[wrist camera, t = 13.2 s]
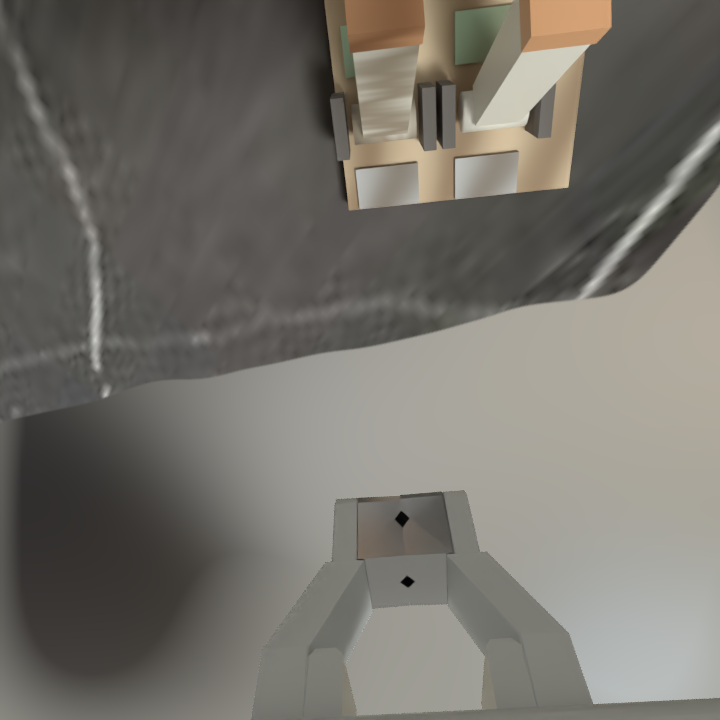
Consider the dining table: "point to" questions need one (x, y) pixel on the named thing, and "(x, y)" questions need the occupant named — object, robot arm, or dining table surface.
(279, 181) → the dining table surface
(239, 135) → the dining table surface
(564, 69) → the lever
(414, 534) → the robot arm
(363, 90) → the console
